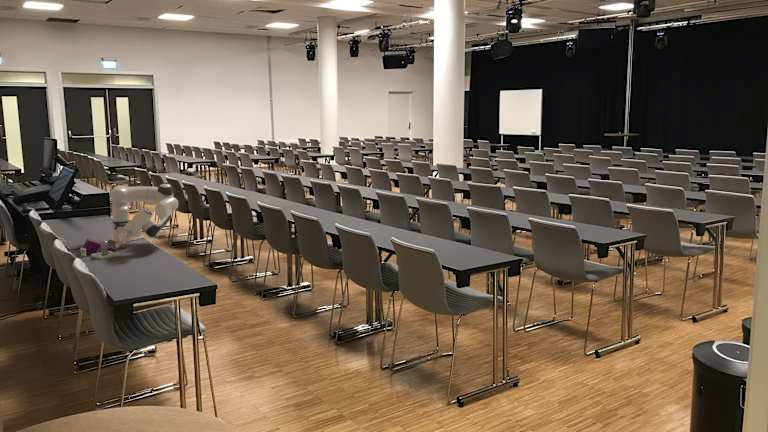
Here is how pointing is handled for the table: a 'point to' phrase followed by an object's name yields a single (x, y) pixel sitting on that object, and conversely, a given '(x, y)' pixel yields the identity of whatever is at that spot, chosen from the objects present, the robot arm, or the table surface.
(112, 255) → the parts tray
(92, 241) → the mounting bracket
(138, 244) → the table surface
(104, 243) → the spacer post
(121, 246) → the gold metallic cylinder
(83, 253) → the label tile
